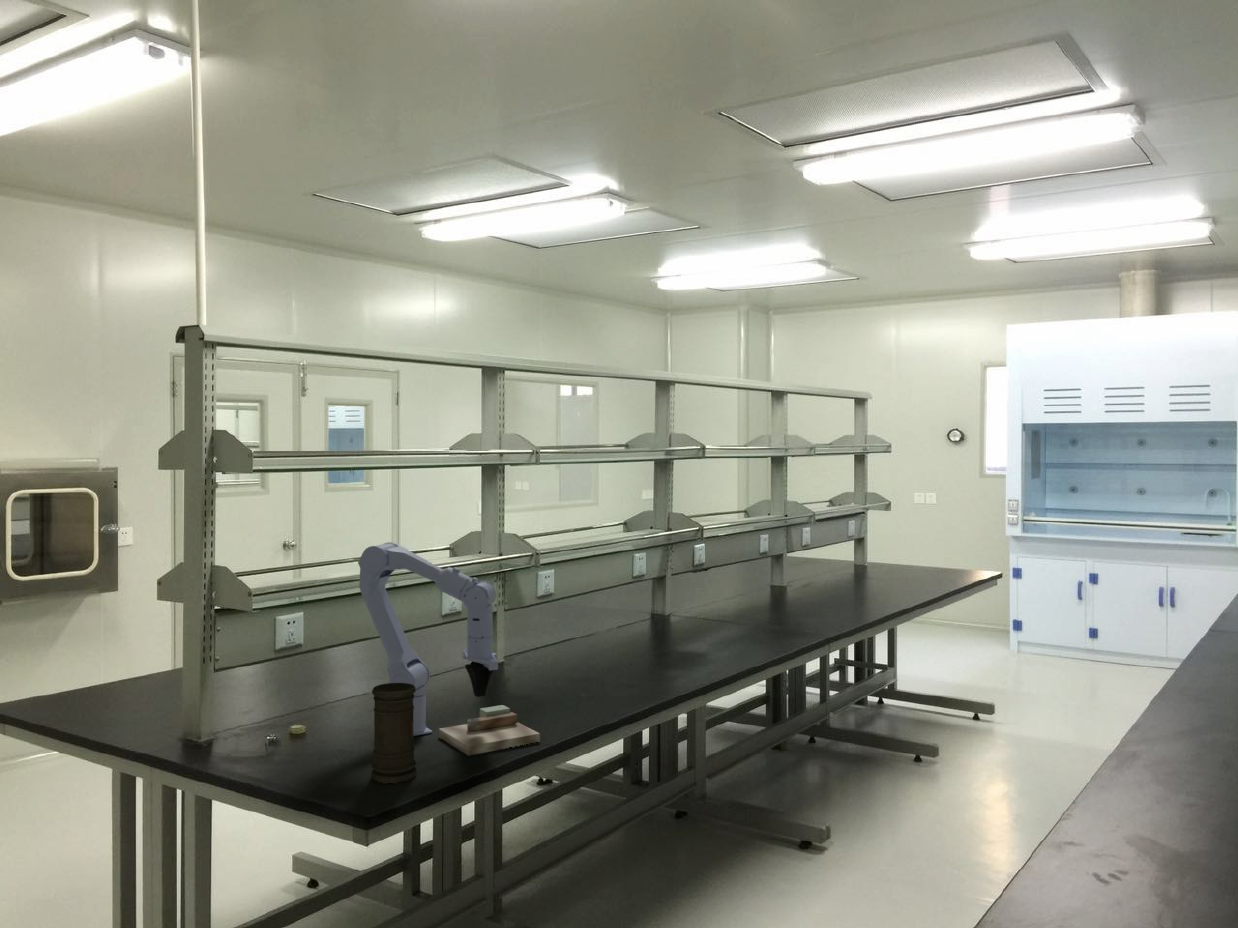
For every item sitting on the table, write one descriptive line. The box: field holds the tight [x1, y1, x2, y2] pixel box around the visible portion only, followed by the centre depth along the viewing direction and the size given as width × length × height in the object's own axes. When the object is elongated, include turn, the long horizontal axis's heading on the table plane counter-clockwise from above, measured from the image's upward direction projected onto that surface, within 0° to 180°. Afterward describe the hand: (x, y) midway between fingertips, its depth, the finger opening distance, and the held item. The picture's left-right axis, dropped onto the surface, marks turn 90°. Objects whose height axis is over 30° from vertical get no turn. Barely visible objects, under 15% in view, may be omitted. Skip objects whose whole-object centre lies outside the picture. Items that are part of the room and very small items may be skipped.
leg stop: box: [479, 704, 511, 718], centre depth 231 cm, size 6×4×3 cm, turn 124°
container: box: [370, 682, 417, 784], centre depth 199 cm, size 9×9×18 cm
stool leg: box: [466, 711, 518, 731], centre depth 226 cm, size 12×3×2 cm, turn 125°
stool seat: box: [438, 721, 541, 756], centre depth 224 cm, size 18×16×2 cm
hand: (479, 695), depth 226 cm, fingers closed
